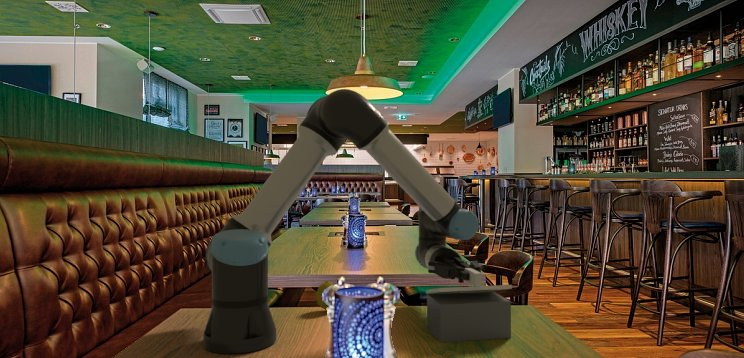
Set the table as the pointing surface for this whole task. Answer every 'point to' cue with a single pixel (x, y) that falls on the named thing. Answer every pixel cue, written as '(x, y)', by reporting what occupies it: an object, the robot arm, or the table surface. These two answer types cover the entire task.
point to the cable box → (468, 316)
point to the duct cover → (468, 289)
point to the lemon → (319, 293)
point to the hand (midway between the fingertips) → (478, 279)
